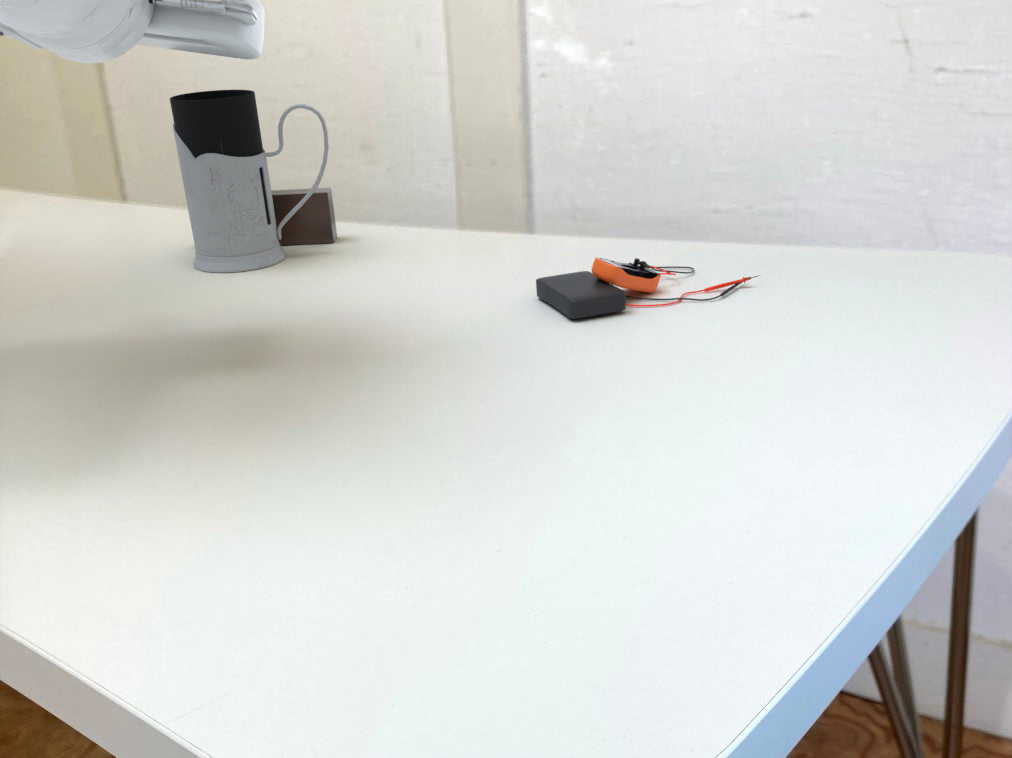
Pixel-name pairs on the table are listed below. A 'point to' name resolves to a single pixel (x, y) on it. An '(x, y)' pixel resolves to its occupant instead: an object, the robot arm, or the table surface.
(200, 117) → the glass holder
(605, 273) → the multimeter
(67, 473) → the table surface
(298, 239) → the bar
